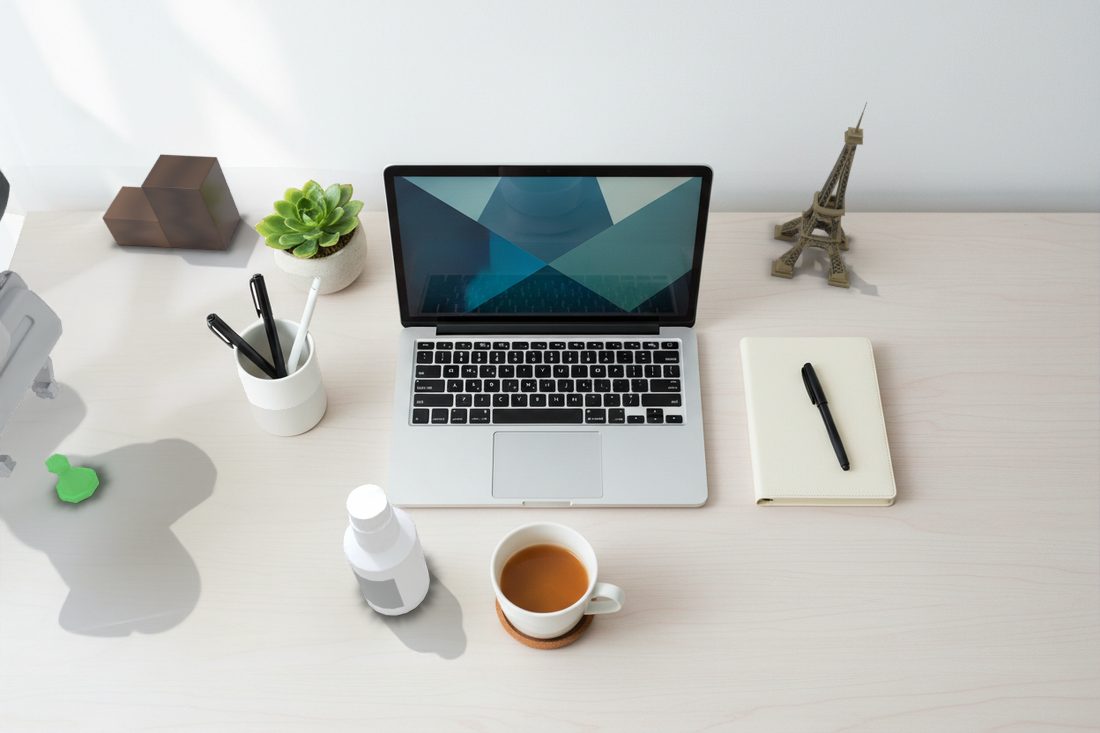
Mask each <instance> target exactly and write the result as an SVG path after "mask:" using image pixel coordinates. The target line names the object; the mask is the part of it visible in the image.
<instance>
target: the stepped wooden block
mask: <svg viewBox="0 0 1100 733" xmlns="http://www.w3.org/2000/svg"><path fill="white" fill-rule="evenodd" d="M241 219H242V217H241V214H240V211H239V209H238V207H237V205H236V202H235V200H234V197H233V194H232V192H231V189H230V187H229V184H228V182H227V179H226V176H225V174H224V172H223V169H222V166H221V164H220V161H219V159H218V157H217V156H202V155H180V154H159V155H158V158H157V159H156V161H155V163H154V164H153V166H152V167H151V169H150V171H149V173H148V174H147V176H146V177H145V179H144V181H143V182H142V184H141V185H140V186H127V185H126V186H125V185H123V186H121V188H120V189H119V191H118V192H117V194H116V195H115V197H114V199H113V201H112V202H111V204H110V205H109V207H108V208H107V210H106V211H105V212H104V215H103V216H102V221H103V222H104V224H105V225H106V227H107V229H108V231H109V233H110V235H111V236H112V238H113V240H114V241H115V243H116V244H117V245H121V246H137V247H138V246H139V247H141V246H142V247H156V248H157V247H161V248H179V249H198V250H218V251H226V250H227V249H228V246H229V245H230V243H231V240H232V238H233V236H234V234H235V231H236V230H237V227H238V225H239V223H240V221H241Z"/></svg>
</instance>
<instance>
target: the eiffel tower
mask: <svg viewBox="0 0 1100 733" xmlns="http://www.w3.org/2000/svg"><path fill="white" fill-rule="evenodd" d="M867 104H868V102H867V101H866V102H865V105H864V108H863V110H862V112H861V115H860V117H859V119H858V122H857V124H856V127H851V126H848V127H847V130H845V131H844V145H843V147H842V149H841V151H840V153H839V155H838V157H837V159H836V161H835V164H834V165H833V167H832V169H831V170H830V172H829V175H828V176H827V179H826V180H825V183H823V186H822V188H821V190H816V191H815V192H814V194H813V201H812V204H811V205H810V207H809V208H808V209H807V210H802V213H801V216H799V217H796V218H794V219H791V220H789V221H786V222H784V223H782V224H781V225H780V224H775V226H774V236H773V239H775V240H781V241H787V242H794V241H795V236H796V235H797V243H796V244H795V245H794V246H792V247H791V248H790V249H789V250H787V251H785V252H784V253H783V254H782V255H781V256H779V257H778V258H776V260H772V263H771V272H770V273H771V274H770V275H771V276H773V277H778V278H785V279H792V277H793V269H794V266H795V264H796V263H797V261H798V259H799V257H800V256H801V254H802V252H803V251H804V250H806V249H811V248H818V249H821V250H824V251H825V252H826V253H828V255H829V263H830V267H828V271H827V285H828V286H833V287H841V288H847V289H849V287H850V272H848V271H847V267H846V265H845V263H844V261H843V258H842V255H841V251H840V250H844V251H849V249H850V244H849V243H850V242H849V241H850V240H849V235H846V232H845V230H844V229H843V227H842V217H845V216H846V192H847V187H848V182H849V178H850V174H851V170H852V167H853V162H854V158H855V154H856V151H857V148H858V145H859V146H861V145H862V146H863V145H864V128H860V126H861V123H862V119H863V116H864V112H865V109H866V107H867ZM836 186H837V188H836ZM835 188H836V192H835V194H833V192H834V190H835ZM814 230H821V231H824V232H825V233H826V234H827V235H828V236H827V235H819V234H813V233H814Z"/></svg>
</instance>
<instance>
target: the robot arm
mask: <svg viewBox="0 0 1100 733" xmlns="http://www.w3.org/2000/svg"><path fill="white" fill-rule="evenodd" d="M10 192H11V185H10V182H9V181H8V178H7V177H6V176H5V174H4V171H3V170H2V168H1V167H0V222H1V221H2V219H3V217H4V214H5V212H6V210H7V207H8V202H9V198H10ZM62 334H63V324H62V320H61V318H60V316H59V315H58V314H57V313H56V312H55V311H54V310H53V309H52V308H51V306H50V305H48V303H47V302H46V301H45V300H43V298H42V297H40V296H39V295H38V294H37V293H36V292H34V291H33V290H31V289H29V287H28V285H27V283H26V282H25V281H24V279H23V278H22V276H21V275H20V274H19V273H17V272H16V271H14V270H10V269H5V270H3V271H1V272H0V437H1V436H2V434H3V433H4V431H5V430H6V428H7V427H8V425H9V423H10V421H11V419H12V417H13V416H14V415H15V413H16V411H17V410H18V408H19V406H20V405H21V403H22V401H23V400H24V398H25V396H26V394H27V393H28V392H29V389H31V390H32V391H33V393H35V395H36V396H37V397H39V398H40V399H50V400H53V399H54V398H56V396H57V394H58V392H59V390H60V389H61V385H60V384H59V383H58V381H57V380H56V379H55V373H54V366H53V359H52V357H50V354H51V353H52V351H53V350H54V348H55V346H56V345H57V343H58V341H59V340H60V338H61V336H62ZM16 465H17V462H16V460H13V458H12V457H11V455H9V454H1V455H0V478H9V477H11V474H13V471H14V469H15V467H16Z"/></svg>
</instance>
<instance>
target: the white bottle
mask: <svg viewBox="0 0 1100 733" xmlns="http://www.w3.org/2000/svg"><path fill="white" fill-rule="evenodd" d="M346 510H347V513H348V521H349V524H348V526H347V528H346V529H345V533H344V537H343V541H342V545H343V552H344V555H345V557H346V559H347V562H348V563H349V566H350V568H351V570H352V573H353V574H354V576H355V579H356V581H357V583H358V584H359V587H360V590H361V591H362V594H363V596H364V599H365V600H366V602H367V604H368V606H370V607H371V608H372V609H373V610H374V611H376V612H378V613H380V614H382V615H385V616H399V615H404V614H407V613H409V612H410V611H413V610H414V609H416V608H417V607H418V606H419V605H420V604H421V603H422V602H423V601H424V599H425V598H426V596H427V593H428V591H429V589H430V582H431V581H430V580H431V579H430V573H429V569H428V566H427V562H426V558H425V555H424V551H423V547H422V544H421V540H420V537H419V533H418V530H417V527H416V524H415V522H414V520H413V519H412V518H411V516H410V515H409V514H408V513H406V512H405V511H404V510H403V509H401V508H399V507H396V506H393V505H392V503H391V501H390V499H388V497H387V495H386V493H385V491H384V489H382V488H381V487H380V486H378V485H375V484H363V485H360V486H358V487H356V488H354V489H353V490H352V491H351V492H350V493H349V496H348V497H347V500H346Z"/></svg>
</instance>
